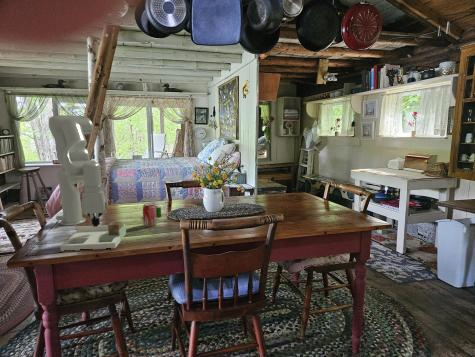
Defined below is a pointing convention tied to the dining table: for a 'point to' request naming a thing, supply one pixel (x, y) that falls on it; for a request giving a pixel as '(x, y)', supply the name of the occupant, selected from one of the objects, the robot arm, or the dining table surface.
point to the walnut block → (114, 228)
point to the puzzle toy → (158, 211)
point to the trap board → (93, 238)
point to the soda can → (149, 214)
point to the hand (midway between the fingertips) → (96, 225)
